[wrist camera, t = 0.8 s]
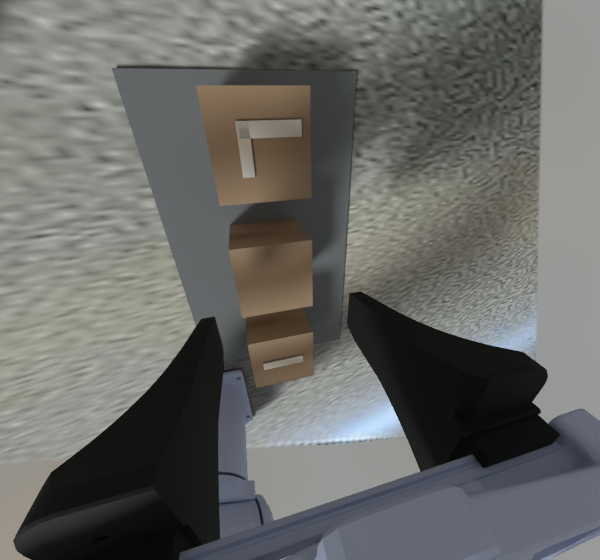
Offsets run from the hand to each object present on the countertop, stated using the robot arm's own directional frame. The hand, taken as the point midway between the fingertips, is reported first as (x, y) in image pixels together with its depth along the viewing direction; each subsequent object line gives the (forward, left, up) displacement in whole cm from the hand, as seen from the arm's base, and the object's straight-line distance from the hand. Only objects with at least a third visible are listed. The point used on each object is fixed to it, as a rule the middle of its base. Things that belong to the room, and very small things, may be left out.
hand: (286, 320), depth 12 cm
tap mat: (0, 0, -9) cm, 9 cm away
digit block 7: (+8, 0, -9) cm, 12 cm away
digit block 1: (-7, 0, -9) cm, 12 cm away
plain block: (0, 0, -9) cm, 9 cm away
